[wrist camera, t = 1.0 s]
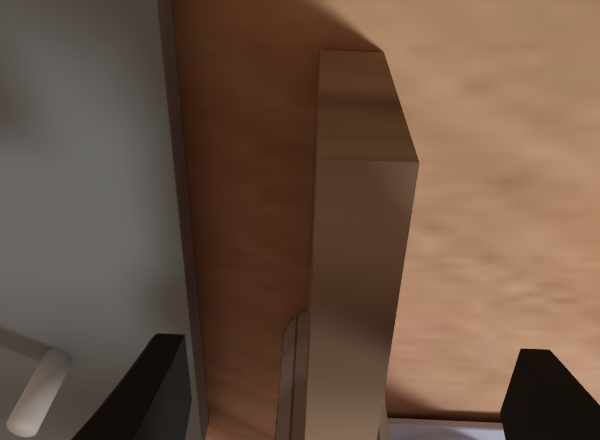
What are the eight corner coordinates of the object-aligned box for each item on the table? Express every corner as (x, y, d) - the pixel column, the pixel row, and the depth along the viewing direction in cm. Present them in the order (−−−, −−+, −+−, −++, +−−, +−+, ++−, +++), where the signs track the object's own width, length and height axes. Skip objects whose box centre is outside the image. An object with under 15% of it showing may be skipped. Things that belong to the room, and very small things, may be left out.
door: (287, 48, 16) (268, 156, 10) (415, 53, 16) (469, 165, 10) (283, 371, 23) (269, 548, 17) (372, 375, 23) (389, 553, 17)
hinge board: (208, 420, 25) (188, 521, 21) (-20, 410, 25) (-81, 509, 21) (169, -24, 15) (118, 14, 11) (-201, -37, 15) (-373, -3, 12)
